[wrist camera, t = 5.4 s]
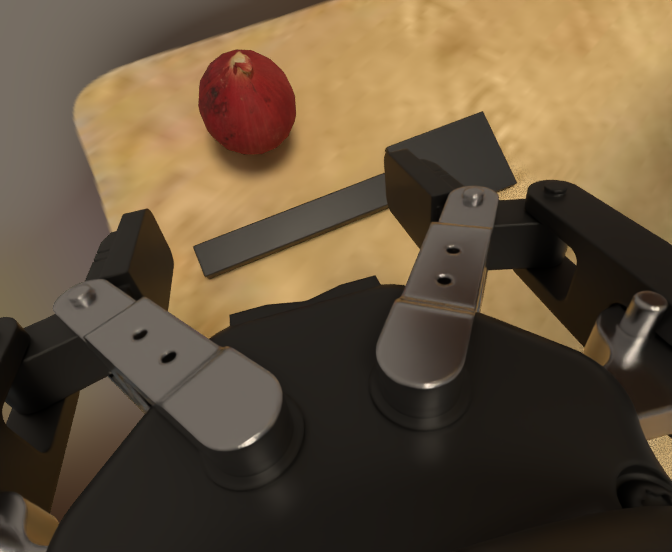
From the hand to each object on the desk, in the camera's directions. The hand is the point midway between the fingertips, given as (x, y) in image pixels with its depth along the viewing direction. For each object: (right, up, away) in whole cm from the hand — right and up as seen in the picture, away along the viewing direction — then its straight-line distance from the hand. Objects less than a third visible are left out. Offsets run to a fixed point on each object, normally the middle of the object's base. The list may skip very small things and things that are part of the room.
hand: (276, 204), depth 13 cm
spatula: (+3, +2, +14) cm, 15 cm away
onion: (-4, +8, +15) cm, 17 cm away
